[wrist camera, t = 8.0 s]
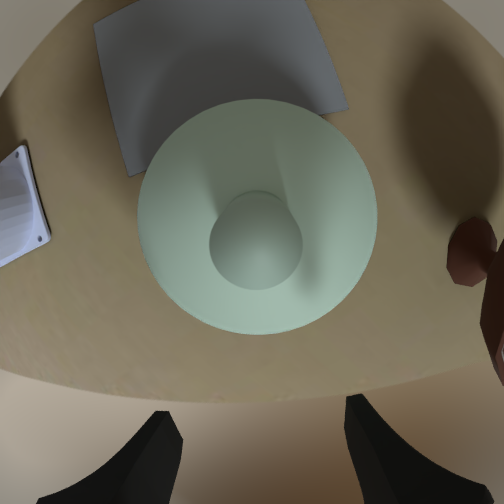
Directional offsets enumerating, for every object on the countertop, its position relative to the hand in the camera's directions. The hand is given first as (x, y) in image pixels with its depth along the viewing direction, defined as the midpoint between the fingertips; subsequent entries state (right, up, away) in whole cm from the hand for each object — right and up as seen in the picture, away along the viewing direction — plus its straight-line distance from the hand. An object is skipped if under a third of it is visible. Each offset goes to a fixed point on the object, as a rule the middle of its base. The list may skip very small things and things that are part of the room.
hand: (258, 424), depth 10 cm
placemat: (-3, +19, +4) cm, 20 cm away
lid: (0, +8, +3) cm, 9 cm away
